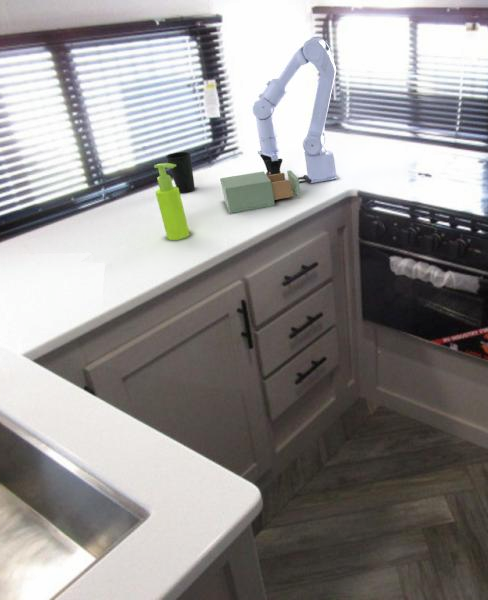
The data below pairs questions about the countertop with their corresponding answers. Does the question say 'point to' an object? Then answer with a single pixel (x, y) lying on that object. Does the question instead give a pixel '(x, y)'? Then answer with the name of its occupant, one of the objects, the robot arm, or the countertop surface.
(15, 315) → the countertop surface
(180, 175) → the cup
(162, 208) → the soap dispenser
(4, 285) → the countertop surface
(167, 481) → the countertop surface
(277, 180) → the drawer
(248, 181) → the cabinet
